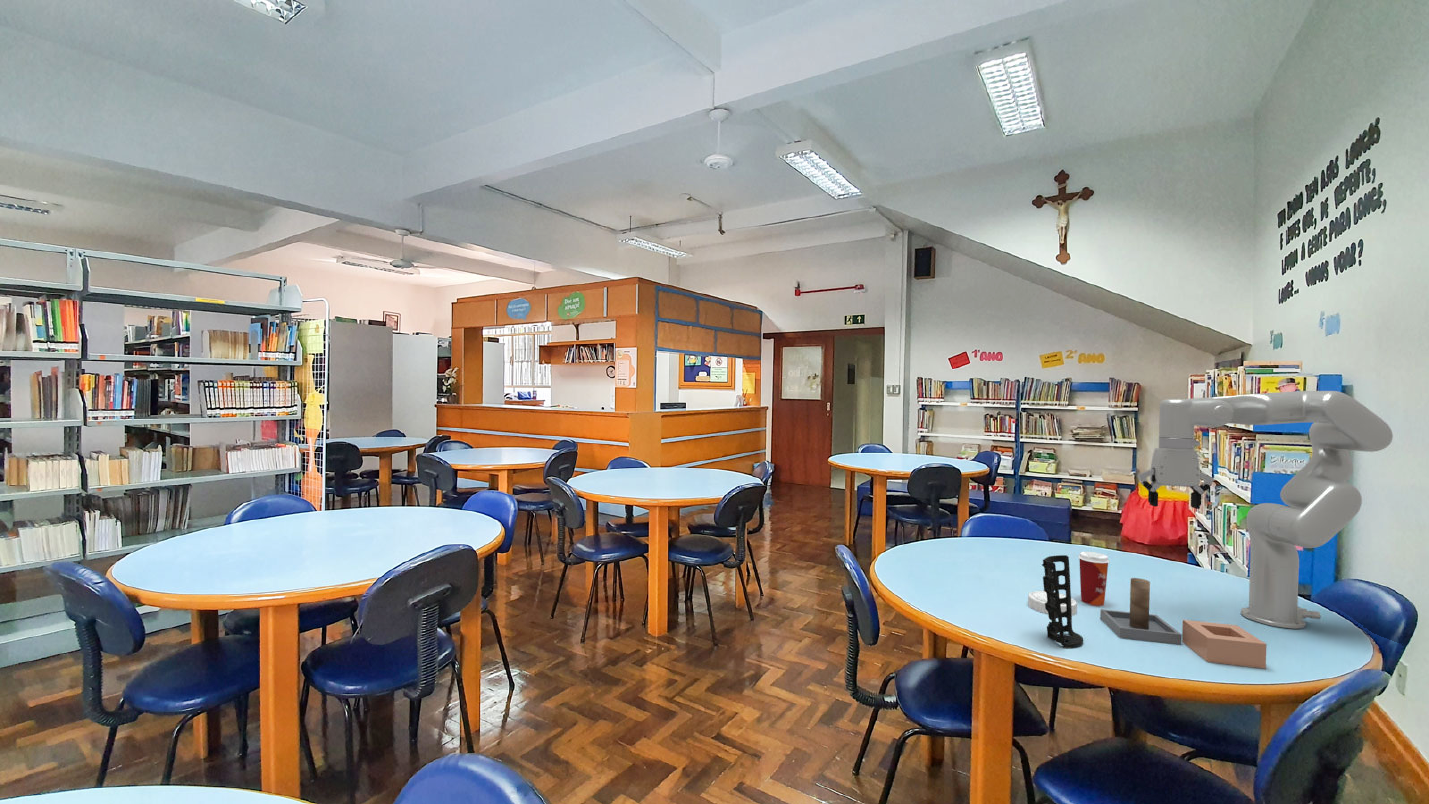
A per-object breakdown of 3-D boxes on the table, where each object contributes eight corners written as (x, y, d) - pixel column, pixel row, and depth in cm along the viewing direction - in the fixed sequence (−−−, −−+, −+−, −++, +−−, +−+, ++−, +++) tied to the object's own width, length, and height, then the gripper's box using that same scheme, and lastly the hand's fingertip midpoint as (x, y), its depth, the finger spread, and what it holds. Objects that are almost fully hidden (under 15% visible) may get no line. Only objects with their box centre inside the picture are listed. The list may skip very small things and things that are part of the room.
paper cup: (1107, 609, 163) (1108, 560, 163) (1075, 603, 168) (1076, 555, 168) (1109, 601, 169) (1110, 554, 169) (1078, 595, 174) (1079, 549, 174)
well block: (1235, 647, 139) (1236, 625, 139) (1265, 668, 128) (1266, 644, 128) (1182, 641, 142) (1182, 619, 142) (1206, 661, 131) (1207, 637, 131)
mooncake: (1081, 620, 156) (1082, 606, 156) (1031, 613, 160) (1032, 600, 160) (1071, 604, 167) (1071, 592, 167) (1024, 599, 171) (1024, 587, 171)
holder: (1083, 651, 135) (1076, 565, 136) (1046, 646, 139) (1039, 562, 140) (1083, 635, 144) (1076, 554, 145) (1048, 631, 148) (1041, 553, 149)
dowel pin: (1144, 625, 150) (1145, 579, 150) (1151, 631, 146) (1152, 583, 146) (1126, 623, 151) (1127, 577, 151) (1133, 629, 147) (1134, 582, 147)
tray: (1156, 624, 153) (1156, 615, 153) (1181, 644, 140) (1181, 634, 140) (1100, 618, 156) (1100, 609, 156) (1119, 637, 144) (1120, 627, 144)
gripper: (1206, 444, 159) (1204, 506, 159) (1133, 442, 164) (1131, 502, 164) (1221, 446, 152) (1220, 511, 152) (1145, 444, 156) (1143, 507, 157)
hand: (1174, 506), depth 158 cm, fingers open, 9 cm apart
